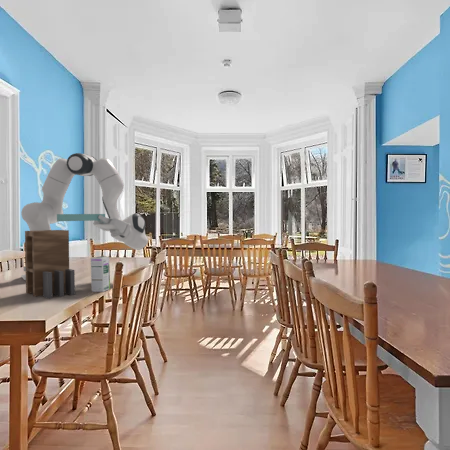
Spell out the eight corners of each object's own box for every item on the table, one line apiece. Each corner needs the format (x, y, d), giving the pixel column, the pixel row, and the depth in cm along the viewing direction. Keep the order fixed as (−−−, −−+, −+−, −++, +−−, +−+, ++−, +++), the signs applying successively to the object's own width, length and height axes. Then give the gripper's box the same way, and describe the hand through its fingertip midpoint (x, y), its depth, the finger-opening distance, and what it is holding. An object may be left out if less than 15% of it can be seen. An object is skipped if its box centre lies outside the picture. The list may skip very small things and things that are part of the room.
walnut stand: (26, 293, 158) (24, 230, 157) (59, 288, 168) (58, 229, 168) (35, 296, 151) (33, 231, 150) (69, 291, 161) (68, 230, 161)
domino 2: (59, 296, 151) (59, 271, 151) (54, 294, 154) (54, 270, 154) (63, 296, 152) (63, 271, 152) (58, 294, 155) (58, 270, 155)
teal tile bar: (56, 221, 163) (56, 214, 163) (101, 220, 179) (101, 213, 178) (59, 221, 161) (59, 214, 161) (105, 220, 176) (105, 213, 176)
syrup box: (103, 292, 160) (103, 257, 159) (90, 291, 161) (90, 257, 160) (110, 289, 165) (109, 256, 165) (97, 289, 166) (97, 256, 166)
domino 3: (70, 294, 154) (70, 270, 154) (65, 293, 157) (65, 269, 157) (74, 294, 155) (74, 270, 155) (69, 292, 159) (69, 268, 158)
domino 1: (48, 298, 148) (47, 272, 147) (43, 296, 151) (42, 271, 151) (52, 297, 149) (51, 272, 148) (47, 296, 152) (46, 271, 152)
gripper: (111, 224, 192) (88, 210, 183) (133, 224, 178) (110, 210, 169) (105, 235, 190) (82, 222, 181) (127, 236, 176) (103, 222, 167)
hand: (96, 216), depth 175 cm, fingers closed on teal tile bar, 3 cm apart
